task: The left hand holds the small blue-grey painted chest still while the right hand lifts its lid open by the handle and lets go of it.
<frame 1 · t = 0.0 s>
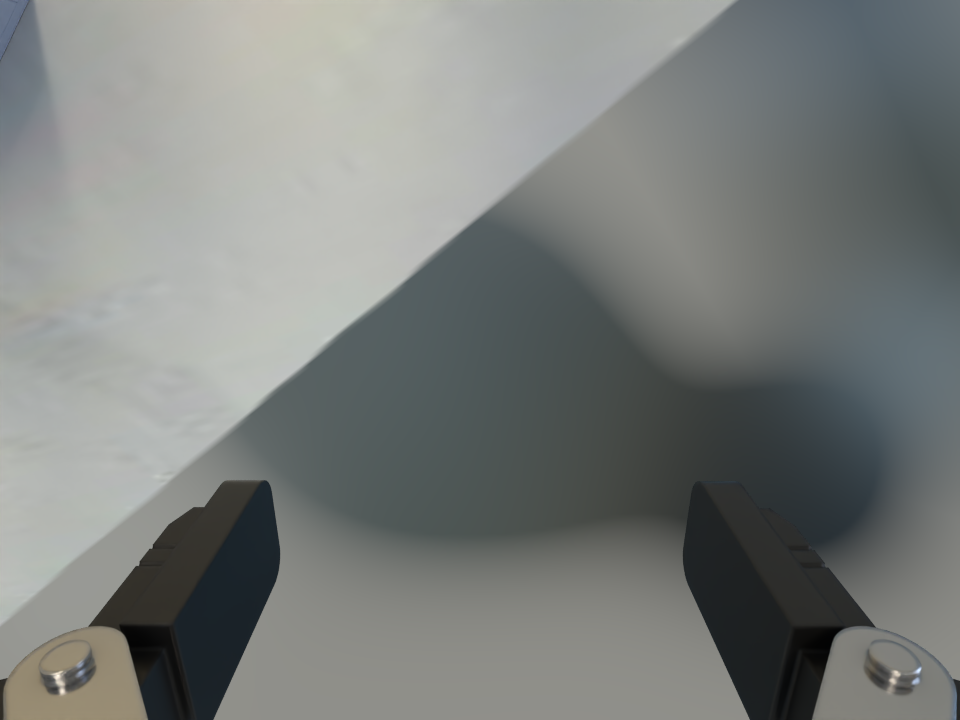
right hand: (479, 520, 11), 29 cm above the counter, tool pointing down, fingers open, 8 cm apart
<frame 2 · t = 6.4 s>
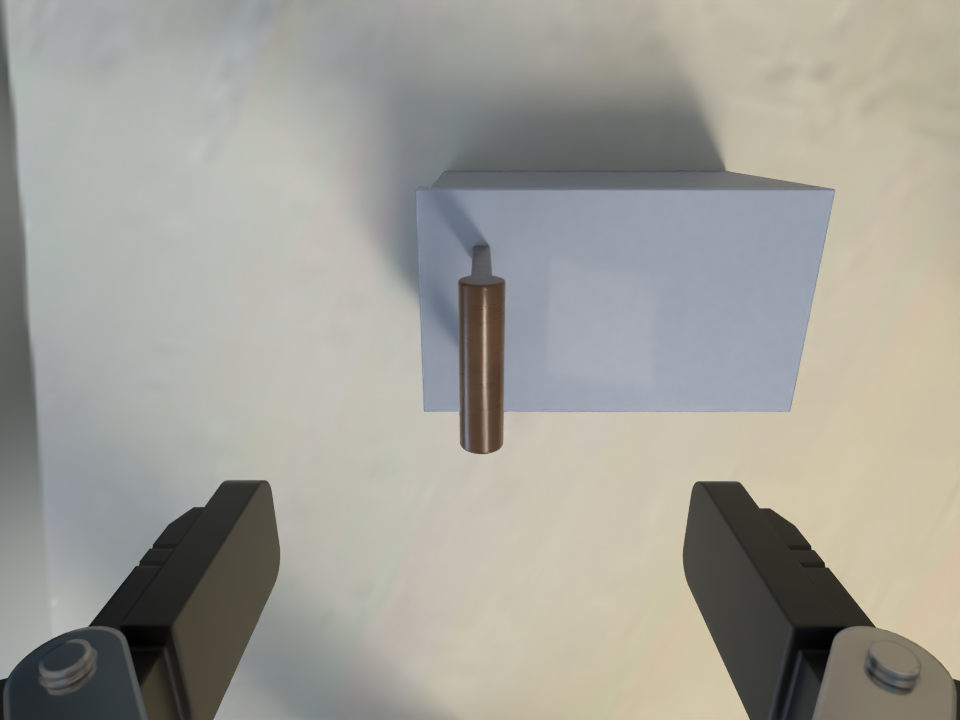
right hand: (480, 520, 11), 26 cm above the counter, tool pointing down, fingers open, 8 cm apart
lid: (634, 332, 22), point 14 cm above the counter, hinge at 0.0°
chest: (580, 256, 36), on the counter
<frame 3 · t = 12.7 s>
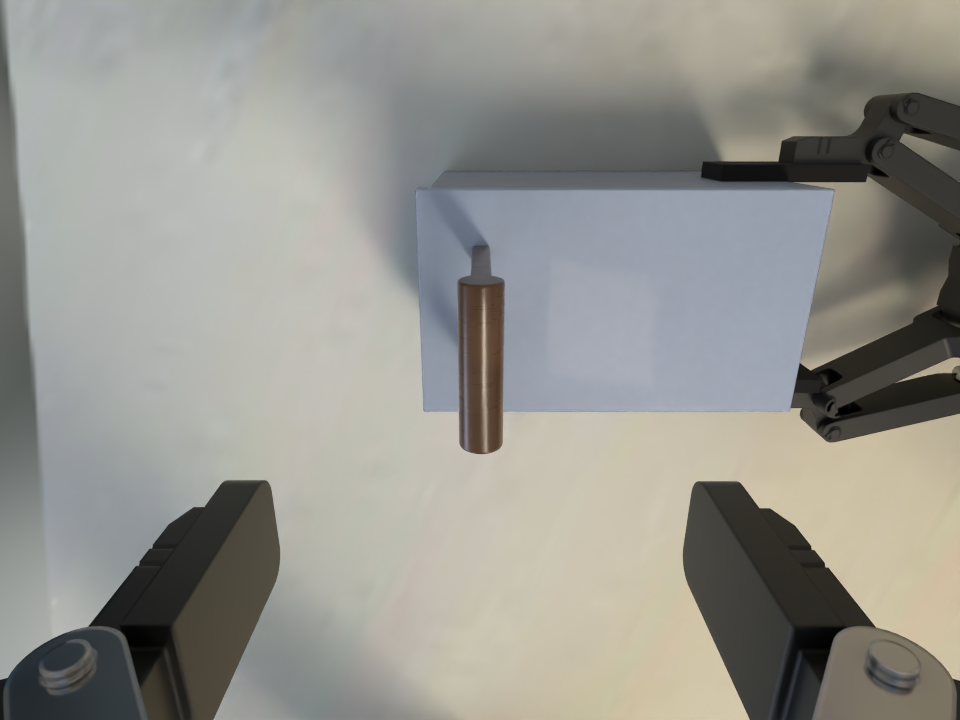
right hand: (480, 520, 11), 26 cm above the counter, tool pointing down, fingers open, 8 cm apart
left hand: (697, 280, 30), fingers closed on chest, 10 cm apart
lid: (633, 332, 22), point 14 cm above the counter, hinge at 0.0°
chest: (580, 256, 36), on the counter, touching left hand
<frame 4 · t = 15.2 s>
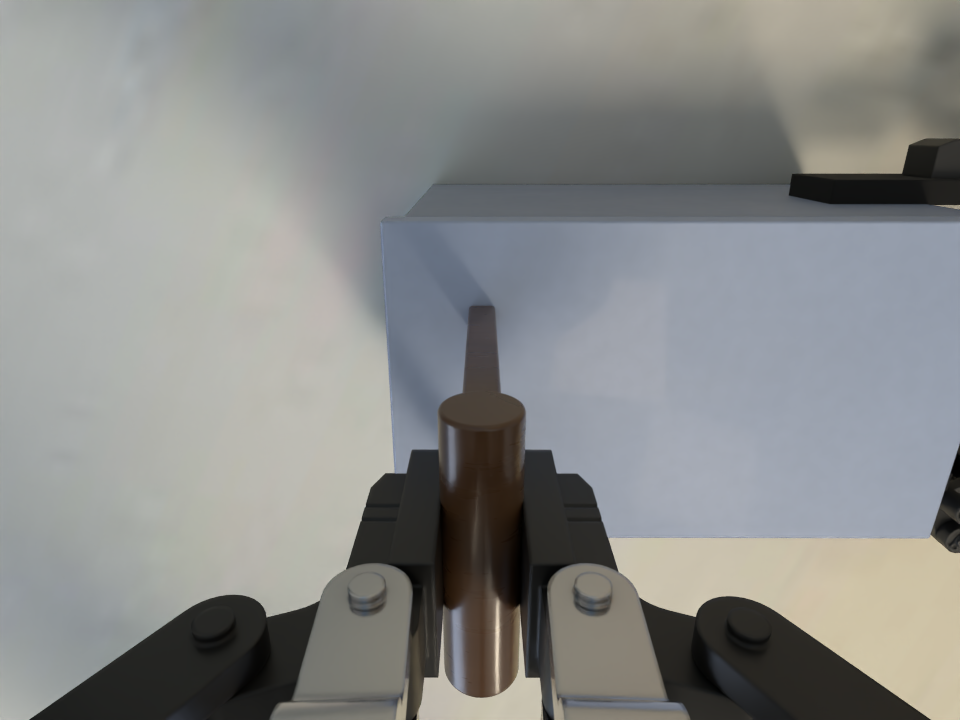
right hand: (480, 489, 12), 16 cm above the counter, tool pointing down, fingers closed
lid: (726, 454, 14), point 14 cm above the counter, hinge at -0.1°, touching right hand
chest: (611, 294, 27), on the counter, touching left hand
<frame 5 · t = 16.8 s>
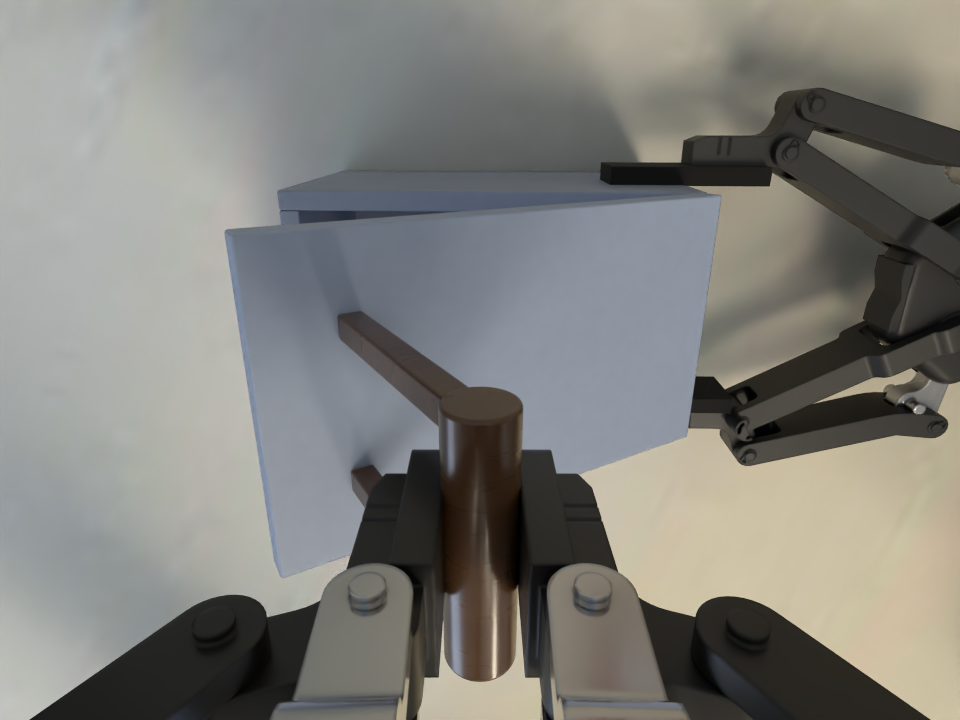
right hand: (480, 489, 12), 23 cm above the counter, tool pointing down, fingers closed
left hand: (596, 290, 28), fingers closed on chest, 10 cm apart
lid: (594, 403, 17), point 18 cm above the counter, hinge at 32.2°, touching right hand
chest: (491, 262, 34), on the counter, touching left hand
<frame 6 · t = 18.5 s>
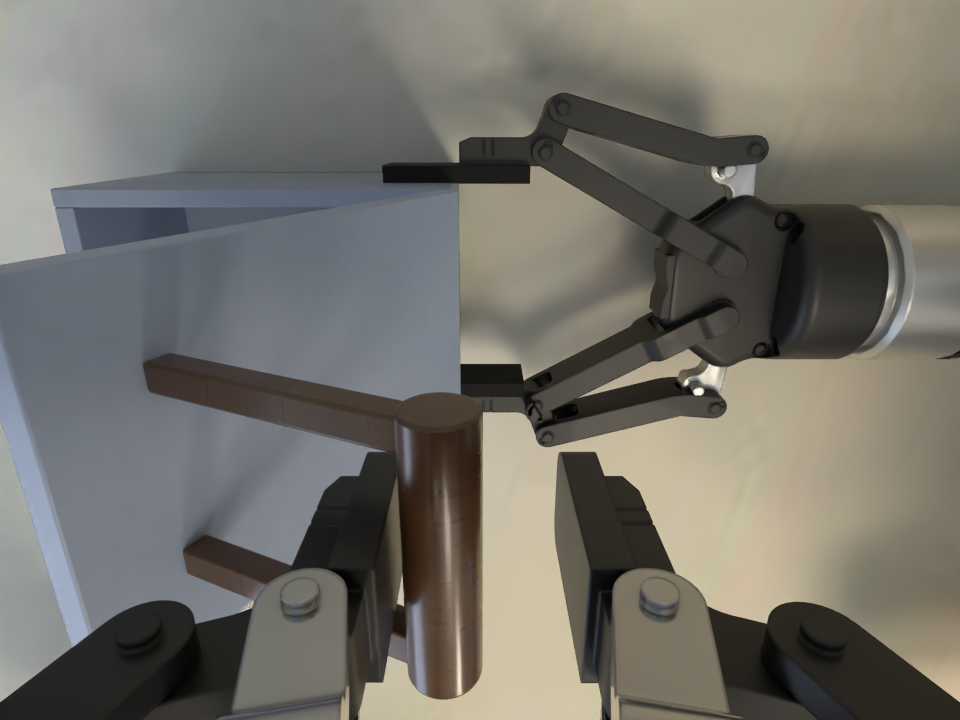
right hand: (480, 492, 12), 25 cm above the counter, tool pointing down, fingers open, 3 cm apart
left hand: (392, 283, 30), fingers closed on chest, 10 cm apart
lid: (431, 398, 17), point 20 cm above the counter, hinge at 65.1°
chest: (323, 258, 35), on the counter, touching left hand
when the left hand's fingers open (6 cm above the counter, at t = 22.5 s): chest stays where it is, on the counter.
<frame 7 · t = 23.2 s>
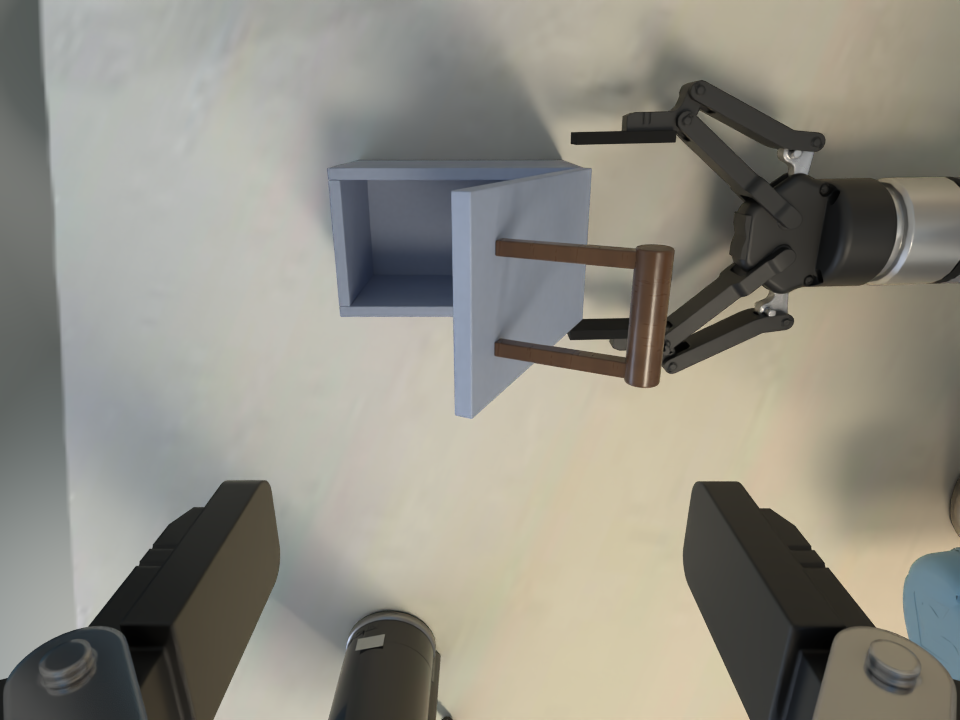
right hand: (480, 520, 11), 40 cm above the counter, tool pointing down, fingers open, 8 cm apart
left hand: (569, 239, 43), fingers open, 13 cm apart
lid: (602, 279, 30), point 20 cm above the counter, hinge at 64.1°
chest: (461, 222, 49), on the counter
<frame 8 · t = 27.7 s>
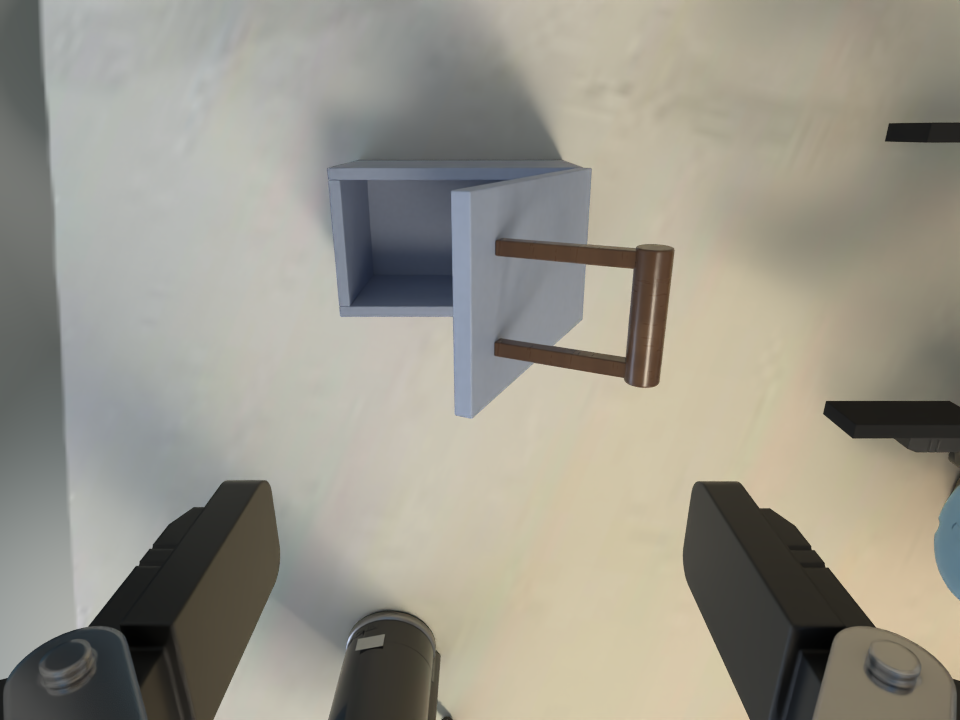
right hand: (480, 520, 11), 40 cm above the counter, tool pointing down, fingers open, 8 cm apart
lid: (602, 279, 30), point 20 cm above the counter, hinge at 64.1°
chest: (461, 222, 49), on the counter
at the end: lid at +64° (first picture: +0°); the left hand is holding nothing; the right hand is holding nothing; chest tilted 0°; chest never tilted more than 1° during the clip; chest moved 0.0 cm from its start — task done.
